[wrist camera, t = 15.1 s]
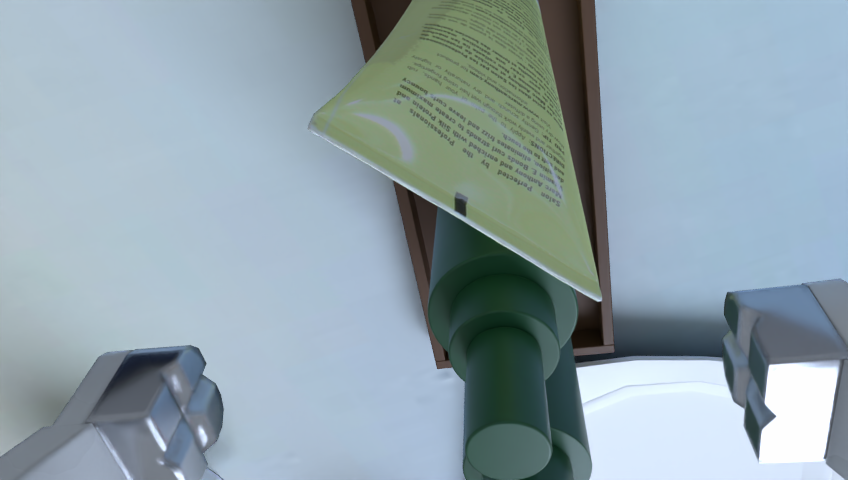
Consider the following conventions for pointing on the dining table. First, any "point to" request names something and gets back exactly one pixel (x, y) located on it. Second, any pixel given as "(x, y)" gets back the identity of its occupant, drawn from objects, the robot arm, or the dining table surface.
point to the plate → (672, 423)
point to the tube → (472, 128)
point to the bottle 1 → (499, 344)
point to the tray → (580, 104)
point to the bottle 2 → (558, 427)
